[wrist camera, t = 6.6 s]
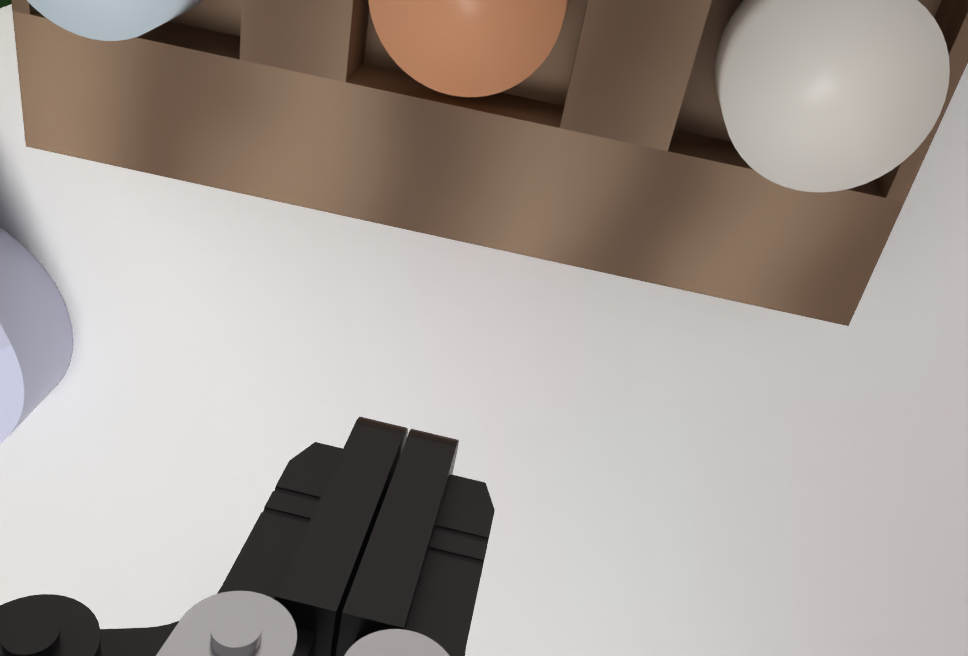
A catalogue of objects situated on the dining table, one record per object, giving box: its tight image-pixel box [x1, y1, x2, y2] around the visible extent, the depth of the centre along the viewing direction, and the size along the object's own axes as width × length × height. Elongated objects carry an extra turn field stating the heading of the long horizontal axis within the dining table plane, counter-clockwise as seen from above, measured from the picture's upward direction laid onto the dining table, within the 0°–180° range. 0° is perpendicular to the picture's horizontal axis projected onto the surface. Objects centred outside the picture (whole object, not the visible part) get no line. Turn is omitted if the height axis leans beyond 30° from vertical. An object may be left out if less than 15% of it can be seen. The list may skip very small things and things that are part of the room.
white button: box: [714, 0, 950, 192], centre depth 22 cm, size 5×5×2 cm
